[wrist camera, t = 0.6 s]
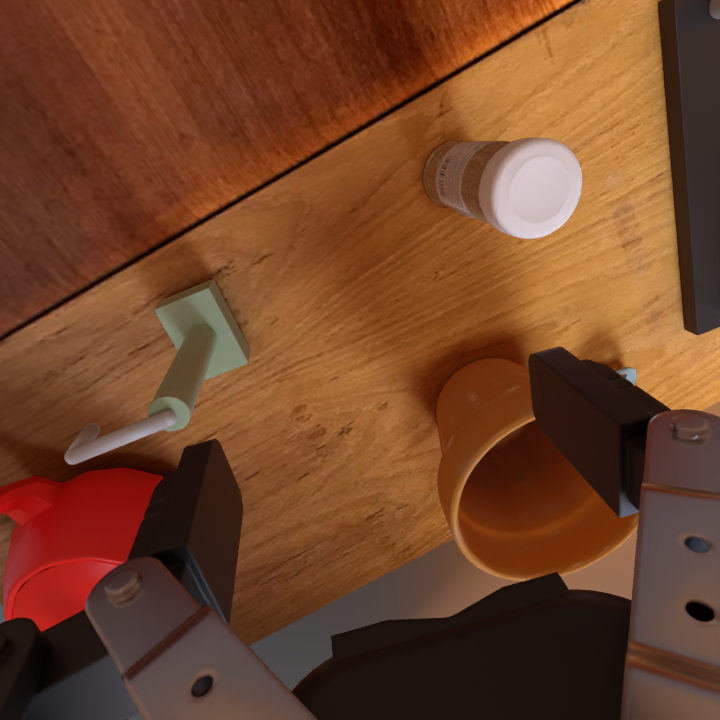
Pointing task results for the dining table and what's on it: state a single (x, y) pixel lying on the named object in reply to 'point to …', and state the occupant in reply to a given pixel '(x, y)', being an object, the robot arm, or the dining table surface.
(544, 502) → the flower pot
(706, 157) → the rack
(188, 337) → the peg on square base
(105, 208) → the dining table surface
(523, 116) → the dining table surface
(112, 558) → the teapot
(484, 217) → the sprinkles bottle
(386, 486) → the dining table surface
